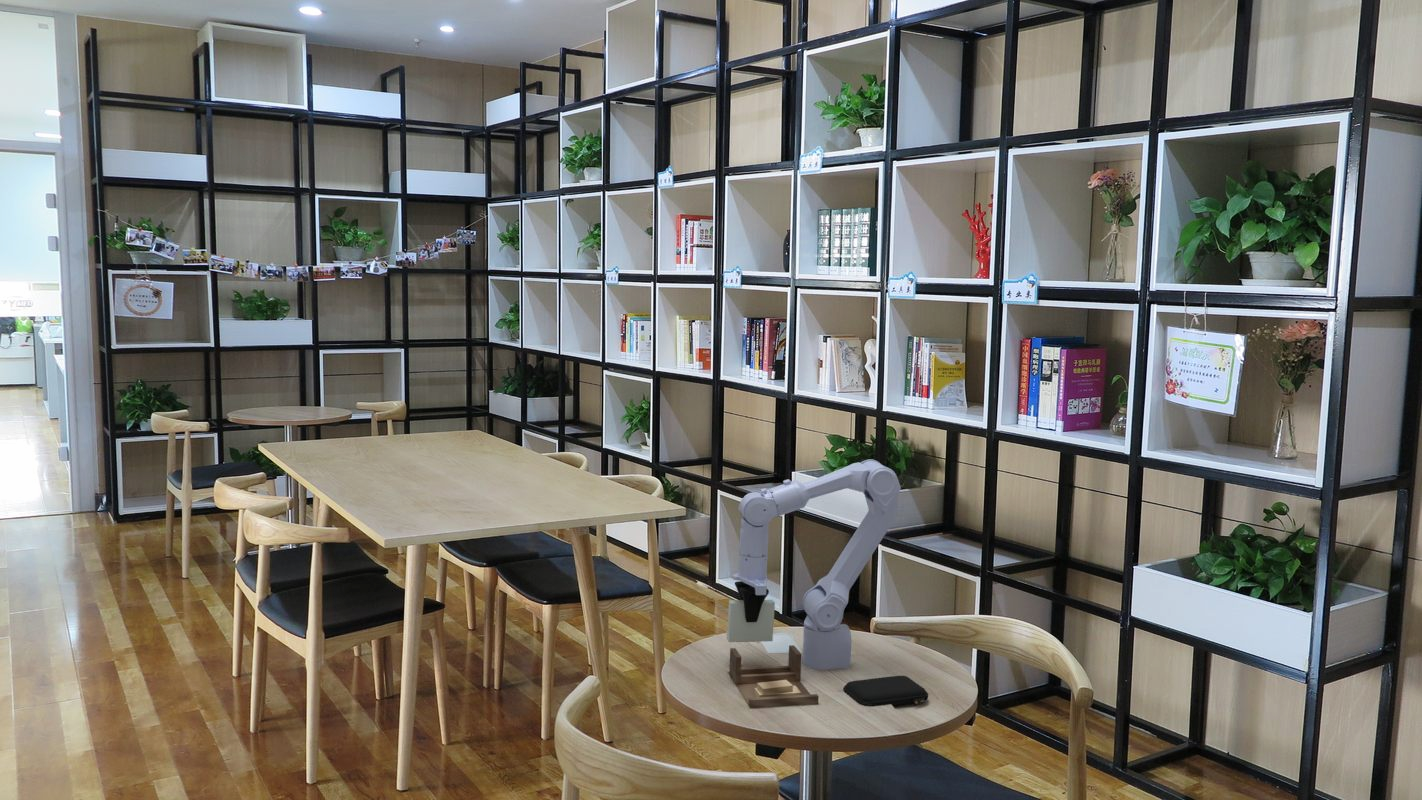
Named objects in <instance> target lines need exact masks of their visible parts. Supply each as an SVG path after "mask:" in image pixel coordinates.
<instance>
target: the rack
mask: <svg viewBox="0 0 1422 800" xmlns="http://www.w3.org/2000/svg"><path fill="white" fill-rule="evenodd" d="M729 649H730V651H729V671H726V672H727V675H728V676H729V678H730V679H731V681H732V682H733V685H734V686H735V687H736V689H737V690H738V692H739V693H740V695H741V696H742V698H743V699H744V701H745V703H746V704H747V706H748V707H749V709H760V708H762V709H763V708H778V707H797V706H811V705H812V706H814V705H819V697H820V696H819V695H818V694H817V693H815V694H814V693H810V692H809V691H808V689H807V688H806V686H805V685H804V684H803V683H802V682H801V675H802V674H801V673H802V656H803V653H802V652H799V651H798V649H797V648H796V647H795V646H794V645H790V646H789V653H788V662H787V663H788V665H773V666H771V665H768V666H752V667H751V666H750V667H749V666H747V667H742V656H741V654H740V653H739V651H738V650H737V648H735V647H730V648H729ZM779 680H787V681H788V682H789V683H791V684H792V685H793V686H796V687H797V688H798V689H799V691H800V692H801V695H792V696H775V697H758V698H757V697H756V696H755V694H754V693H755V688H757V683H762V682H770V681H779Z"/></svg>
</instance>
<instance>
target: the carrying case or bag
mask: <svg viewBox="0 0 1422 800" xmlns="http://www.w3.org/2000/svg"><path fill="white" fill-rule="evenodd" d="M842 689H843V690H842V692H844V693H845V695H847V696H849V697H850V698H851V699H852V700H853V701H854V702H856V703H857V704H858V705H861V706H864V707H880V706H886V705H887V706H888V705H891V706H892V707H893V708H898V707H905V706H906V705H907V706H912V705H913V706H917V705H919V704H920V703H921V704H923V703H925V702H926V701H927V700H928V699H929V693H928V692H927V691H926V689H925V688H924V687H923V686H922V685H920V684H919V683H917V682H916V681H914V680H913V679H911V678H910V677H908V676H906V675H893V676H884V677H874V678H864V679H857V680H851V681H849V682H846V684H845V685H844V686H843V688H842ZM907 706H906V707H907Z"/></svg>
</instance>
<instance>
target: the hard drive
mask: <svg viewBox="0 0 1422 800" xmlns="http://www.w3.org/2000/svg"><path fill="white" fill-rule="evenodd" d="M756 643H758V644H760V643H761V644H762V645H763V646H764V648H765V650H766V652H767V653H768V654H789V646H790V645H794V646H795V647H796V648H797V649H798V651H799V652H800V653H803V650H802V649H801V648H800V647H799V645H797V643H796V639H795V638H794V637H793V635H792V634H791V633H790V632H773V641H766V642H756Z"/></svg>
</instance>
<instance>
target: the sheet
mask: <svg viewBox="0 0 1422 800" xmlns="http://www.w3.org/2000/svg"><path fill="white" fill-rule="evenodd" d="M775 604H776V602H775V601H774V600H773V599H765V600H764V602H763V604H762V606H761V610H760V613H759V617H758V620H757V622H746V618H745V608H744V601H743V600H740V599H739V600H738V599H737V600H736V599H735V600H734V599H733V600H732V599H731V600H730V599H729V600H728V608H727V609H728V611H727V629H726V640H727V642H728V643H752V642H753V643H754V642H755V643H757V642H766V641H773V633H774V623H775V621H774V620H775V606H776V605H775Z"/></svg>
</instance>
